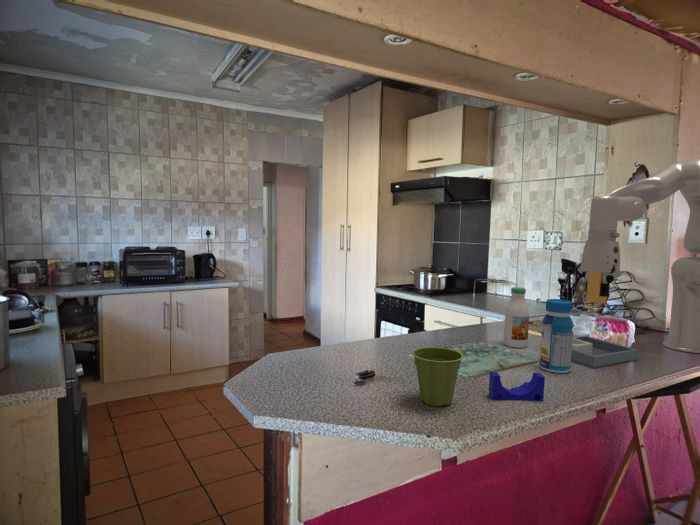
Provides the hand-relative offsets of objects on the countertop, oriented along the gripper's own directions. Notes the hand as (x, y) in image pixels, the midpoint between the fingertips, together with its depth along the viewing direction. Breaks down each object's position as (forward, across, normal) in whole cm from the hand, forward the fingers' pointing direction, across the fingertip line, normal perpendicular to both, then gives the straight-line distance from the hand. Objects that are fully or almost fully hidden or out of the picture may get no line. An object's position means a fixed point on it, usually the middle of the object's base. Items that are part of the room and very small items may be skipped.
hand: (596, 294), depth 137 cm
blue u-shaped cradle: (+22, -14, +47) cm, 54 cm away
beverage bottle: (+21, -3, +20) cm, 29 cm away
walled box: (+20, +1, -1) cm, 20 cm away
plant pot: (+22, -9, +66) cm, 70 cm away
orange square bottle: (+2, 0, 0) cm, 2 cm away
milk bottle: (+21, +20, +12) cm, 31 cm away
